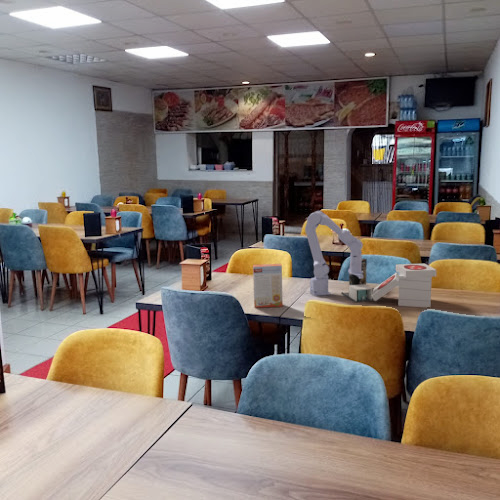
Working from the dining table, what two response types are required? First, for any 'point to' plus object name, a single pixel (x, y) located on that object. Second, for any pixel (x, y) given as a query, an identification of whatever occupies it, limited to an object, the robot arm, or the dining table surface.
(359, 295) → the jaw block
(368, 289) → the housing cover
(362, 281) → the coffee box
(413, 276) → the pizza box stack
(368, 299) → the pin base
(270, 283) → the cracker box
